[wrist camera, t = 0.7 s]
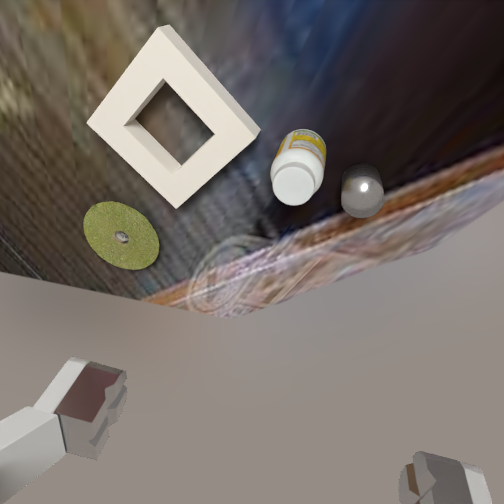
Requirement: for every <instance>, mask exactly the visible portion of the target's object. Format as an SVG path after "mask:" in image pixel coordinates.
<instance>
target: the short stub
mask: <svg viewBox="0 0 504 504" xmlns="http://www.w3.org/2000/svg"><path fill="white" fill-rule="evenodd" d="M341 203H342V207H343V209H344V210H345V211H346V212H347V213H348V214H349V215H351V216H353V217H356V218H367V217H370V216H373V215H375V214H376V213H377V212H378V211H379V210H380V209H381V208H382V206H383V204H384V191H383V186H382V181H381V176H380V173H379V171H378V169H377V168H376V167H375V166H373V165H371V164H369V163H356V164H354V165H352V166H350V167H349V168H347V170H346V171H345V172H344V174H343V176H342V186H341Z"/></svg>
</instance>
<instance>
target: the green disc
mask: <svg viewBox="0 0 504 504" xmlns="http://www.w3.org/2000/svg"><path fill="white" fill-rule="evenodd" d="M84 232H85V235H86V238H87V240H88V242H89V244H90V246H91V247H92V248H93V250H95V252H96V253H97V254H98V255H99V256H100V257H101V258H103V259H104V260H106V261H107V262H109V263H110V264H113V265H115V266H117V267H120V268H124V269H130V270H131V269H132V270H138V269H142V268H145V267H147V266H149V265H150V264H152V263H153V262H154V261H155V259H156V257H157V255H158V252H159V241H158V237H157V234H156V232H155V230H154V228H153V227H152V225H151V224H150V223H149V221H148V220H147V219H146V218H145V217H144V216H143V215H142V214H141V213H140V212H138V211H136V210H135V209H133V208H131V207H129V206H127V205H125V204H122V203H119V202H118V203H117V202H101V203H98V204H96V205H94V206H92V207H91V208H90V209H89V210H88V212H87V213H86V216H85V218H84Z"/></svg>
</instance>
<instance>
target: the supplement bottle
mask: <svg viewBox="0 0 504 504" xmlns="http://www.w3.org/2000/svg"><path fill="white" fill-rule="evenodd" d="M325 159H326V146H325V143H324V141H323V140H322V138H321V137H320V136H319V135H318V134H317V133H315V132H313V131H311V130H307V129H299V130H295V131H293V132H291V133H289V134H288V135H287V136H286V137H285V138H284V140H283V141H282V143H281V145H280V148H279V150H278V152H277V155H276V157H275V159H274V161H273V164H272V167H271V181H272V183H273V191H274V193H275V195H276V197H277V198H278V199H279V200H280V201H282V202H283V203H285V204H288V205H300V204H303V203H305V202H306V201H308V200H309V199H310V198H311V196H312V194H314V193H315V192H316V191H317V190H318V188H319V187H320V185H321V183H322V180H323V175H324V167H325Z"/></svg>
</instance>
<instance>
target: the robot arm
mask: <svg viewBox="0 0 504 504" xmlns="http://www.w3.org/2000/svg"><path fill="white" fill-rule="evenodd" d="M126 379H127V376H126V371H124V370H120V369H117V368H113V367H109V366H106V365H102V364H99V363H94V362H92V361H89V360H85V359H81V358H77V357H74V356H73V357H72V358H71V359H69V360H68V361H67V362H66V363H65V365H64V366H63V368H62V369H61V370H60V371H59V373H58V374H57V375H56V377H55V378H54V379H53V381H52V382H51V383H50V385H49V386H48V387H47V389H46V390H45V392H44V393H43V394H42V396H41V397H40V398H39V400H38V401H37V402H36V404H35V405H34V406H33V407H29V406H27V407H25V408H23V409H21V410H20V411H18V412H16V413H14V414H12V415H11V416H9V417H7V418H5V419H3V420H1V421H0V504H3V503H4V502H6V501H7V500H8V499H9V498H11V497H12V496H13V495H15V494H16V493H17V492H18V491H20V490H21V489H22V488H23V487H25V486H26V485H28V484H29V483H30V482H31V481H32V480H34V479H35V478H37V476H39V475H40V474H42V473H43V472H44V471H46V470H47V469H48V468H49V467H51V466H52V465H53V464H55V463H56V462H57V461H59V460H60V459H61V458H62V457H64V456H65V455H66V453H70V454H74V455H78V456H82V457H86V458H90V459H94V460H97V459H98V457H99V455H100V453H101V451H102V449H103V447H104V445H105V444H106V442H107V440H108V438H109V426H111V425H112V424H114V423H115V422H117V421H118V419H119V417H120V414H121V412H122V410H123V407H124V405H125V402H126V396H127V388H126V386H125V385H124V383H125V381H126ZM413 462H414V463H411V464H408V465H406V466H405V467H404V468H403V470H402V471H401V474H400V479H399V498H400V502H401V504H492V500H491V497H490V494H489V491H488V488H487V484H486V481H485V478H484V475H483V472H482V471H481V469H480V468H479V467H477V466H475V465H471V464H467V463H463V462H460V461H457V460H453V459H450V458H446V457H442V456H438V455H434V454H430V453H426V452H422V451H419V452H416V453H415V455H414V456H413Z"/></svg>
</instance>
